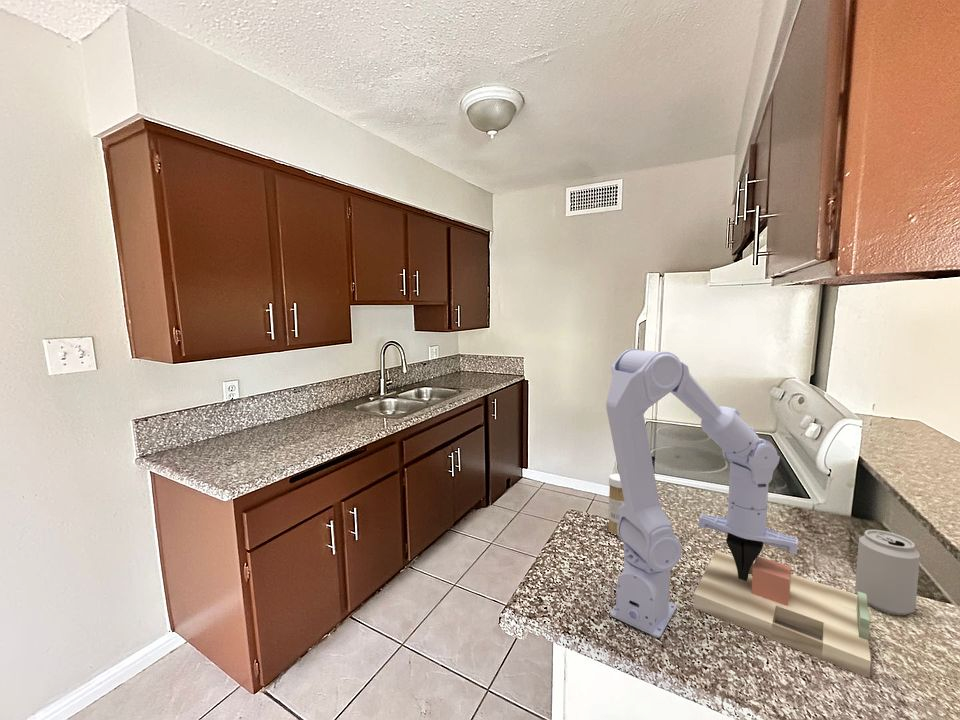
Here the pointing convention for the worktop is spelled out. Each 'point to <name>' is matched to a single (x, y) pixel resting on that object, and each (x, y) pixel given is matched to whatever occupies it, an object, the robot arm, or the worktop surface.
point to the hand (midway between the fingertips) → (743, 577)
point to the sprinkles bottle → (614, 502)
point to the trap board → (791, 614)
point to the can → (888, 571)
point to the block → (771, 580)
